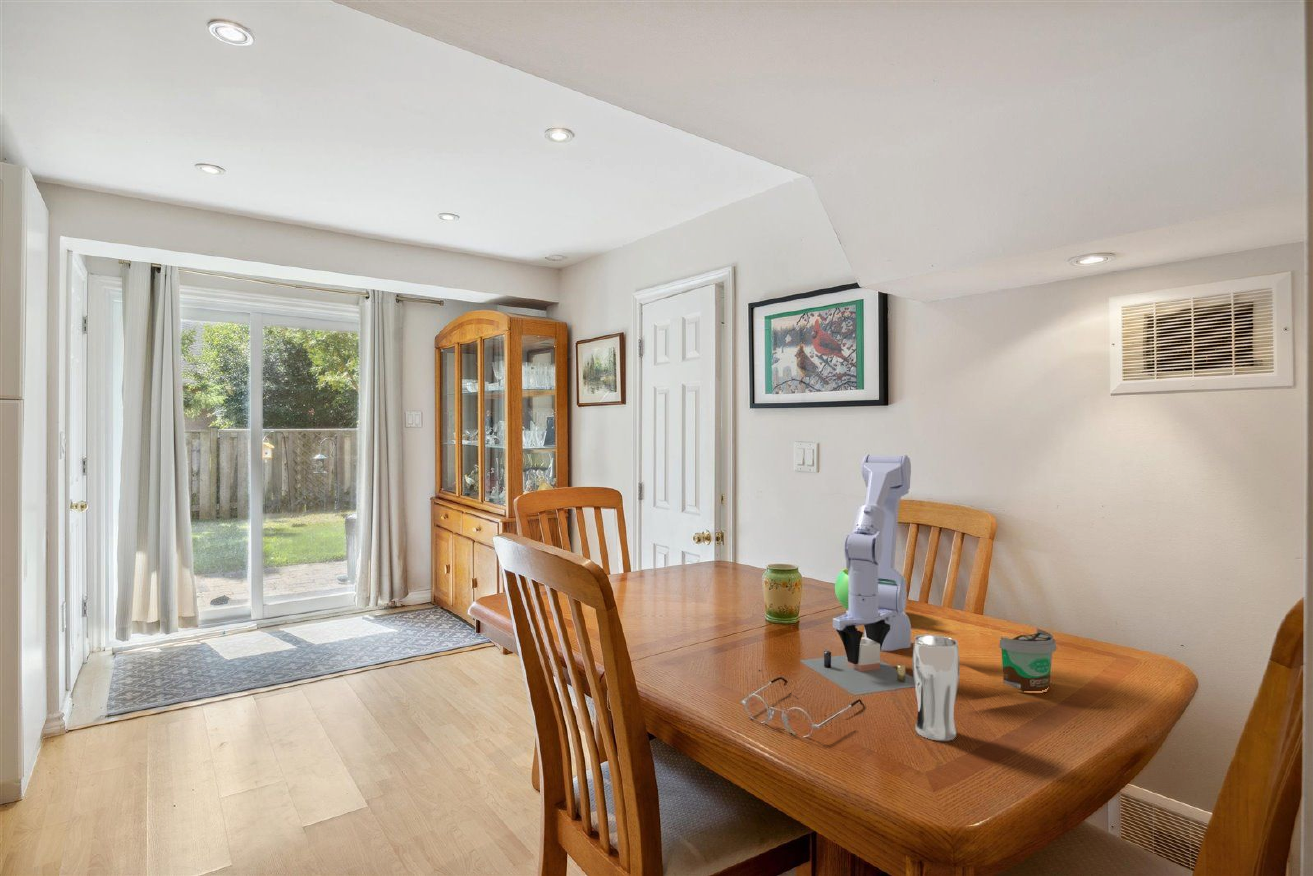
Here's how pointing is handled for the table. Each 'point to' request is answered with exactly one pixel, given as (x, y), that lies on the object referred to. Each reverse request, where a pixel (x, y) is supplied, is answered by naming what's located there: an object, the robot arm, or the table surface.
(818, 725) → the eyeglasses
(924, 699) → the beer glass
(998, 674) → the table surface
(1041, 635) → the food container
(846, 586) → the toy bird
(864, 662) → the sleeve
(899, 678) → the brass pin
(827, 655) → the black pin
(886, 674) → the pin board
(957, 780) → the table surface
